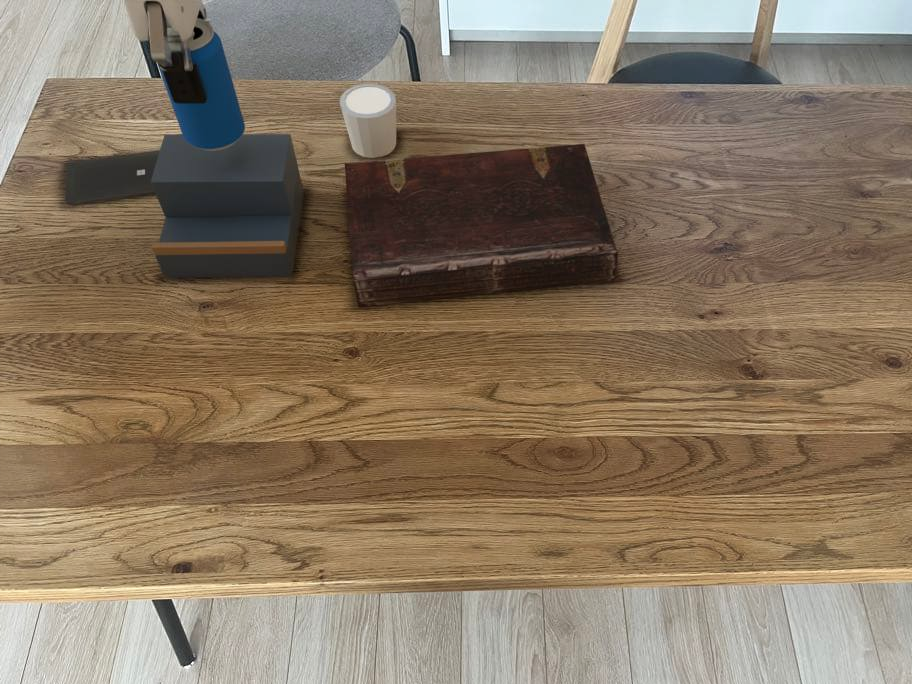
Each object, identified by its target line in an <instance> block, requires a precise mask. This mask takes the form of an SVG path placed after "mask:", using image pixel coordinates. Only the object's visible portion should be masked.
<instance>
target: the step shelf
mask: <svg viewBox="0 0 912 684" xmlns="http://www.w3.org/2000/svg"><path fill="white" fill-rule="evenodd" d="M159 151H160V152H159V156H158V159H157V163H156V166H155V170H154V173H153V176H152V180H151V184H152V186H153V189H154V191H155V193H156V194H155V195H156V198H157V201H158V203H159V205H160V208H161V210H162V212H163V215H164V221H163V225H162V228H161V232H160V236H159V240H158V242H152V245H151V249H152V251H153V254H154V256H155V258H156V260H157V263H158V264H159V267H160V269H161V272H162V274H163V276H164V278H165V279H181V278H183V279H189V278H191V279H193V278H244V277H245V278H247V277H248V278H249V277H250V278H252V277H253V278H255V277H292V276H293V275H294V267H295V261H296V252H297V245H298V239H299V231H300V224H301V217H302V210H303V209H302V208H303V203H304V201H303V200H304V195H305V191H304V187H303V182H302V178H301V173H300V169H299V165H298V161H297V156H296V152H295V148H294V144H293V140H292V135H291V134H290V133H256V134H255V133H243V135H242V136H241V138H240V139H239V140H237V141H236V142H235V143H234V144H233V145H231V146H229V147H227V148H225V149H222V150H216V151H209V150H203V149H200V148H196V147H194V146H191V145H190V144H188V143H187V142H186V141H185V139H184V137H183V135H182V134H164V135H163V139H162V141H161V146H160V149H159Z"/></svg>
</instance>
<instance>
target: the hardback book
mask: <svg viewBox="0 0 912 684" xmlns="http://www.w3.org/2000/svg"><path fill="white" fill-rule="evenodd" d="M591 164H592V163H591V161H590V158H589V154H588V151H587V147H586V145H585V143H579V144H565V145H551V146H542V147H541V146H540V147H529V148H517V149H515V148H514V149H504V150H502V149H501V150H492V151H490V150H489V151H480V152H479V151H478V152H466V153H454V154H453V153H452V154H441V155H431V156H429V155H428V156H418V157H405V158H393V159H382V160H381V159H379V160H367V161H358V162H345V163H344V176H345V189H346V201H347V202H346V204H347V215H348V216H347V217H348V227H349V241H350V242H349V243H350V254H351V268H352V269H351V270H352V280H353V286H354V287H353V288H354V292H355V296H356V302H357V307H361V308H362V307H370V306H381V305H390V304H400V303H409V302H419V301H427V300H437V299H439V300H440V299H449V298H456V297H457V298H458V297H467V296H478V295H485V294H495V293H505V292H514V291H515V292H517V291H525V290H526V291H527V290H535V289H544V288H554V287H555V288H556V287H562V286H563V287H565V286H573V285H582V284H583V285H585V284H591V283H592V284H593V283H603V282H604V283H605V282H612V281H615V279H616V273H617V269H618V268H617V267H618V259H619V257H618V256H619V252H618V250H617V246H616V242H615V240H614V236H613V233H612V230H611V226H610V223H609V220H608V216H607V213H606V210H605V206H604V203H603V200H602V197H601V194H600V191H599V188H598V187H599V186H598V184H597V180H596V177H595V174H594V171H593V168H592V165H591Z"/></svg>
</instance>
